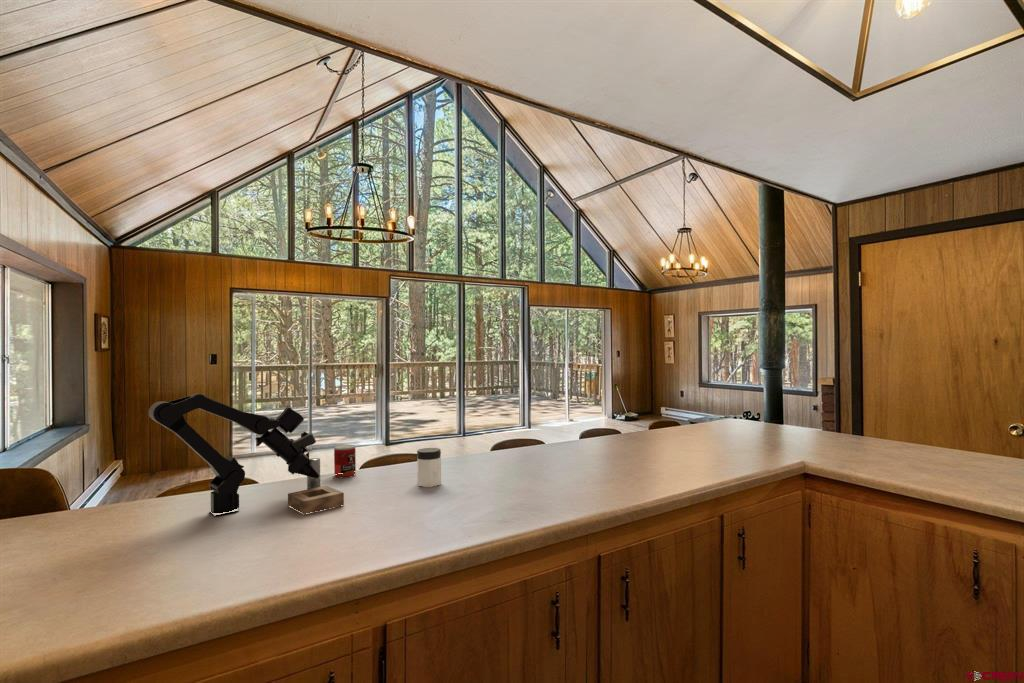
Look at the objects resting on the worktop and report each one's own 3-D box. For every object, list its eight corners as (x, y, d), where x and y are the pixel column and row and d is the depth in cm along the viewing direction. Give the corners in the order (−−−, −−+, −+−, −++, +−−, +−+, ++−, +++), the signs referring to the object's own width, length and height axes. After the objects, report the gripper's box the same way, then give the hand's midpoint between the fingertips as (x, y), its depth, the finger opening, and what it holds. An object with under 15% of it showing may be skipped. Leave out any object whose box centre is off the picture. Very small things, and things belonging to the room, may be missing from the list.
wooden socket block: (303, 515, 142) (303, 501, 142) (288, 506, 151) (287, 493, 151) (343, 505, 150) (343, 492, 151) (326, 498, 159) (326, 485, 159)
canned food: (342, 479, 183) (342, 449, 184) (330, 476, 188) (329, 446, 188) (360, 474, 189) (359, 445, 190) (347, 472, 194) (347, 443, 194)
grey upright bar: (310, 499, 158) (309, 461, 159) (305, 496, 161) (304, 459, 161) (322, 496, 161) (322, 459, 161) (317, 494, 164) (316, 457, 164)
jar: (425, 489, 168) (424, 453, 168) (412, 484, 173) (411, 450, 174) (446, 483, 174) (446, 449, 174) (433, 479, 180) (432, 446, 180)
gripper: (299, 429, 152) (338, 461, 156) (300, 421, 169) (335, 451, 173) (271, 457, 148) (311, 490, 152) (274, 447, 166) (310, 476, 170)
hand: (318, 475), depth 162 cm, fingers open, 5 cm apart
